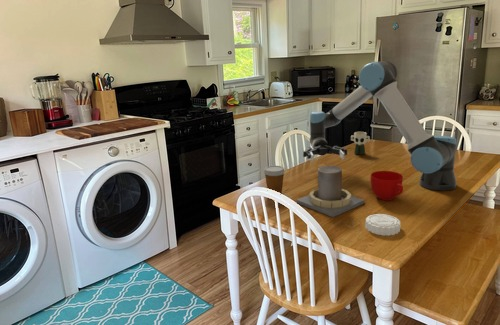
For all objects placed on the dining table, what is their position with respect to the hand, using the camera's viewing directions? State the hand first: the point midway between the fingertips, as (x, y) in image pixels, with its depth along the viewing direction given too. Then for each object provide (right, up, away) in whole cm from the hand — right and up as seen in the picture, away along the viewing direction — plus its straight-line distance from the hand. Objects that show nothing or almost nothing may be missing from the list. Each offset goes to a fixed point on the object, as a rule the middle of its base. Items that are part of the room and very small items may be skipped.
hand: (328, 157), depth 169 cm
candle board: (-1, -19, -8) cm, 21 cm away
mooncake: (+13, -26, -32) cm, 43 cm away
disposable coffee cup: (-23, -16, +6) cm, 29 cm away
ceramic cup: (+24, -18, -7) cm, 31 cm away
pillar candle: (-1, -18, -8) cm, 20 cm away
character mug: (+32, +3, +62) cm, 70 cm away
